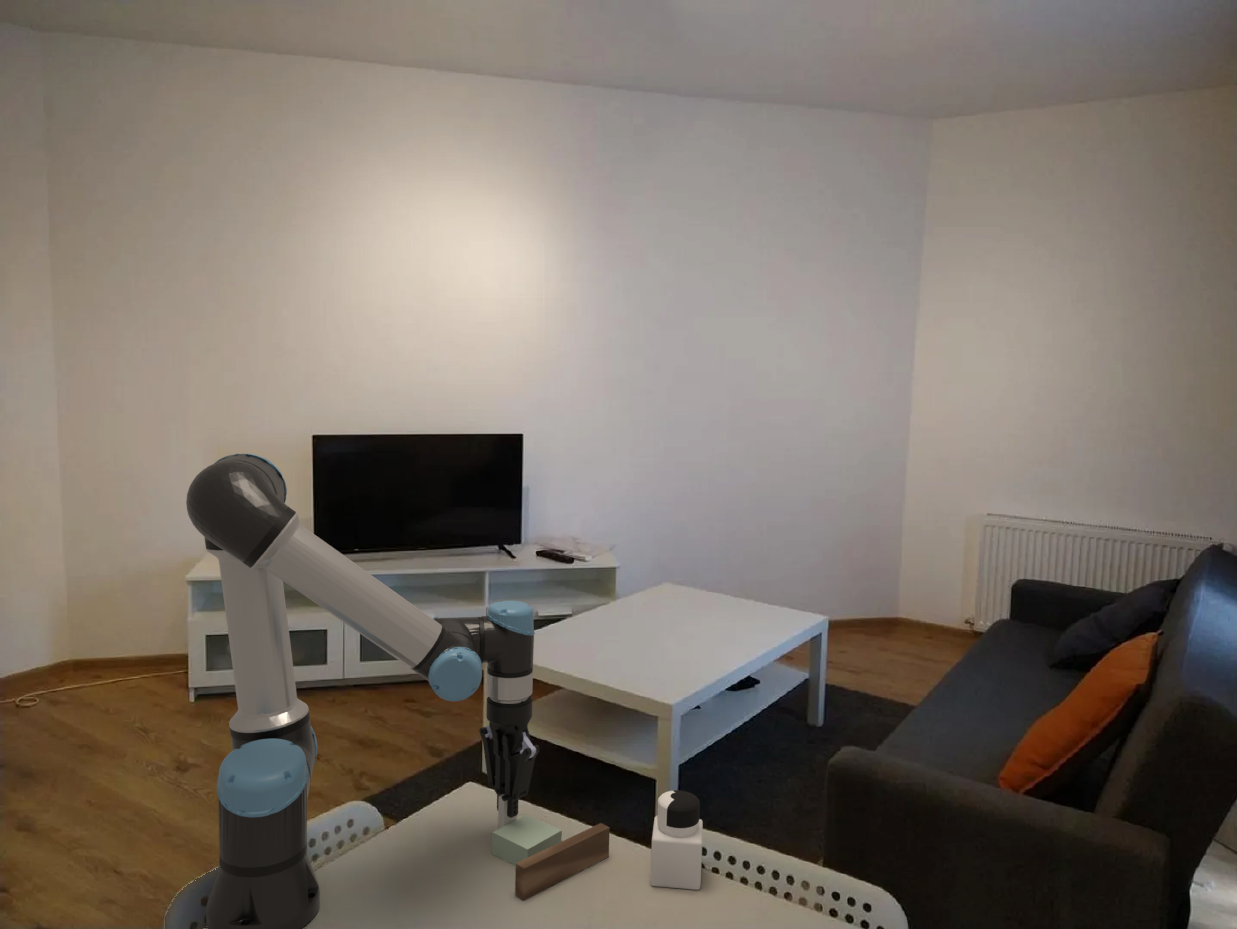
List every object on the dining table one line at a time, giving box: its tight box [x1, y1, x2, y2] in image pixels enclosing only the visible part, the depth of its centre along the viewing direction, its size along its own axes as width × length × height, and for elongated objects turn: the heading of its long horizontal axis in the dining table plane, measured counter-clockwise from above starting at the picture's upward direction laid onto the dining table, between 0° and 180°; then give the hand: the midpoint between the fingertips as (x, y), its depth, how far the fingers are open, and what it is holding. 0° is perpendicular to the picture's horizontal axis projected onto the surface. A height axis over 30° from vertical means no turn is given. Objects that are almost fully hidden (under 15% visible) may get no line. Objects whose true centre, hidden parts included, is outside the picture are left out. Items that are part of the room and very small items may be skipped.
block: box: [491, 814, 563, 867], centre depth 147 cm, size 8×8×4 cm
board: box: [514, 822, 611, 901], centre depth 141 cm, size 2×18×5 cm, turn 136°
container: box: [649, 789, 704, 891], centre depth 142 cm, size 8×8×13 cm
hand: (507, 832), depth 151 cm, fingers closed
